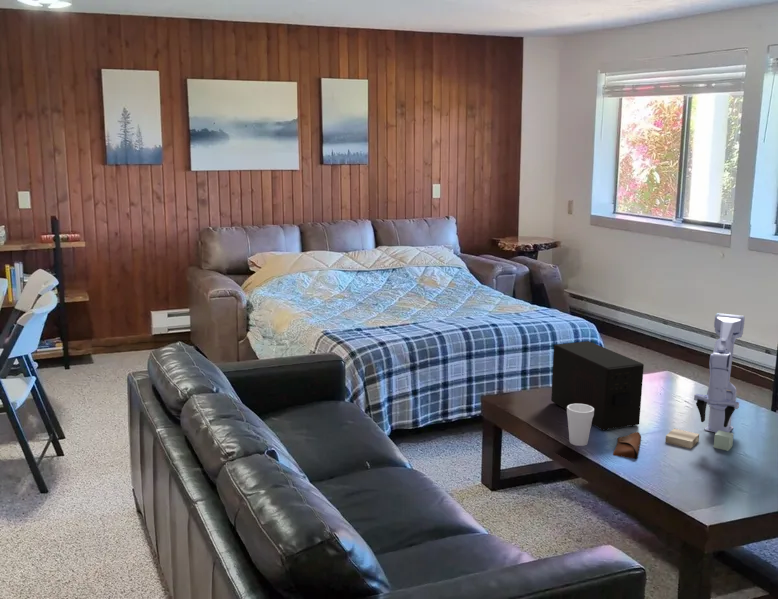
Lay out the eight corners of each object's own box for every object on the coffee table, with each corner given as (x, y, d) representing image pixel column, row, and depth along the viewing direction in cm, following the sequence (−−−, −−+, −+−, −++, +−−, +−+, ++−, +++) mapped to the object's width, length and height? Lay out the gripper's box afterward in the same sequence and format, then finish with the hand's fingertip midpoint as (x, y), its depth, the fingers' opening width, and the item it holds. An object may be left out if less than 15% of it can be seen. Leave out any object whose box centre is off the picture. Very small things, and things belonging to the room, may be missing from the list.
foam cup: (595, 440, 286) (597, 406, 283) (587, 449, 278) (589, 414, 275) (569, 435, 290) (571, 401, 288) (561, 444, 282) (563, 409, 280)
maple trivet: (673, 436, 292) (674, 428, 291) (698, 441, 286) (699, 434, 286) (665, 443, 285) (665, 435, 284) (690, 449, 279) (691, 441, 279)
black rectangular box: (649, 428, 298) (654, 364, 293) (606, 435, 291) (610, 369, 286) (589, 397, 332) (593, 339, 327) (549, 402, 325) (552, 344, 320)
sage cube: (717, 443, 284) (718, 430, 283) (732, 446, 281) (733, 433, 280) (713, 447, 280) (714, 434, 279) (728, 451, 277) (729, 437, 276)
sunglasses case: (616, 437, 289) (627, 423, 287) (633, 448, 288) (644, 435, 285) (612, 455, 273) (623, 441, 270) (629, 468, 271) (641, 453, 269)
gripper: (692, 385, 275) (689, 422, 278) (736, 393, 266) (732, 432, 269) (699, 380, 280) (695, 416, 283) (742, 388, 272) (738, 425, 275)
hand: (714, 423), depth 277 cm, fingers open, 7 cm apart
